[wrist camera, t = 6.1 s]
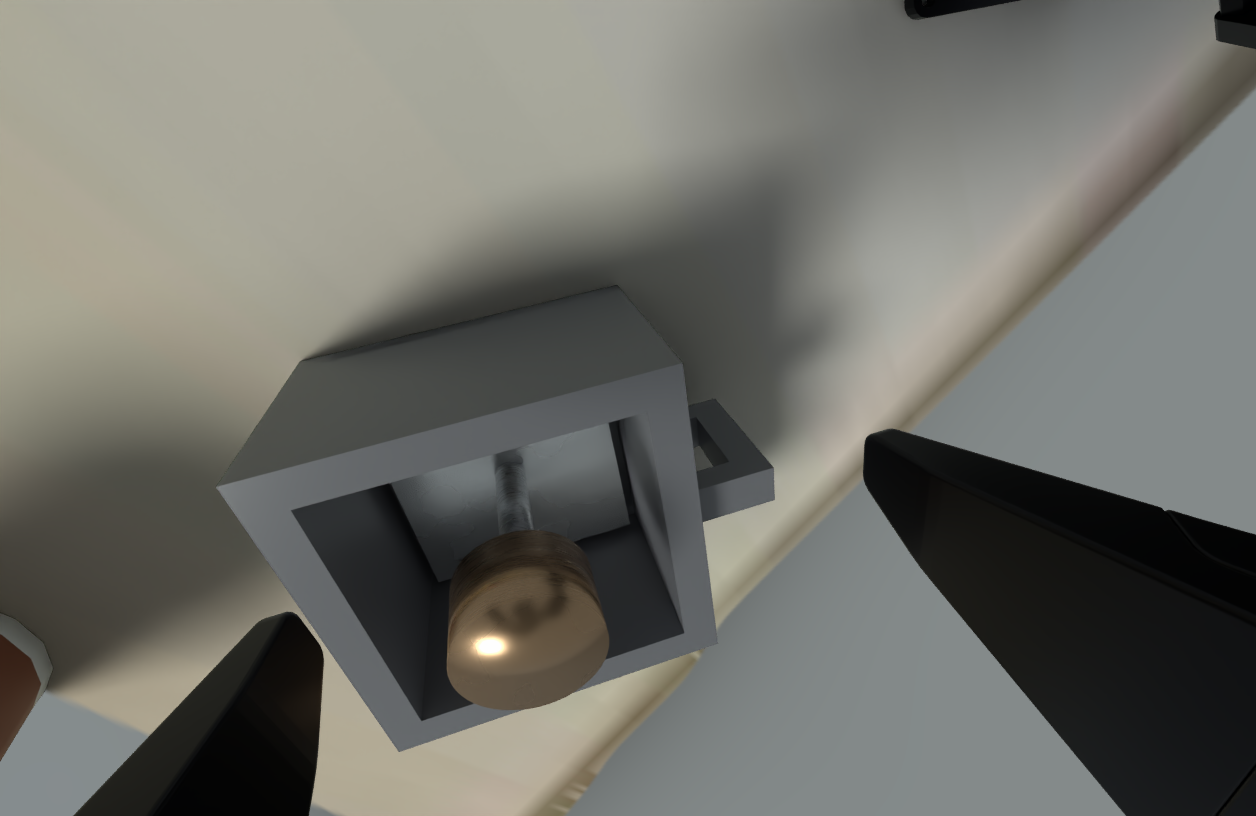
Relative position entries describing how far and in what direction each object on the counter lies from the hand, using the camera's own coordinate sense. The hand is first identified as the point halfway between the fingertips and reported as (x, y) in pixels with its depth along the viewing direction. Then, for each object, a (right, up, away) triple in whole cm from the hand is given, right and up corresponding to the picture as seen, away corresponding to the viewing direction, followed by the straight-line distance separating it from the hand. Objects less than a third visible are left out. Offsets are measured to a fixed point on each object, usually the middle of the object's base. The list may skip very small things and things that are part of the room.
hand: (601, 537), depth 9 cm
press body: (-3, +1, +12) cm, 12 cm away
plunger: (-4, 0, +11) cm, 11 cm away
